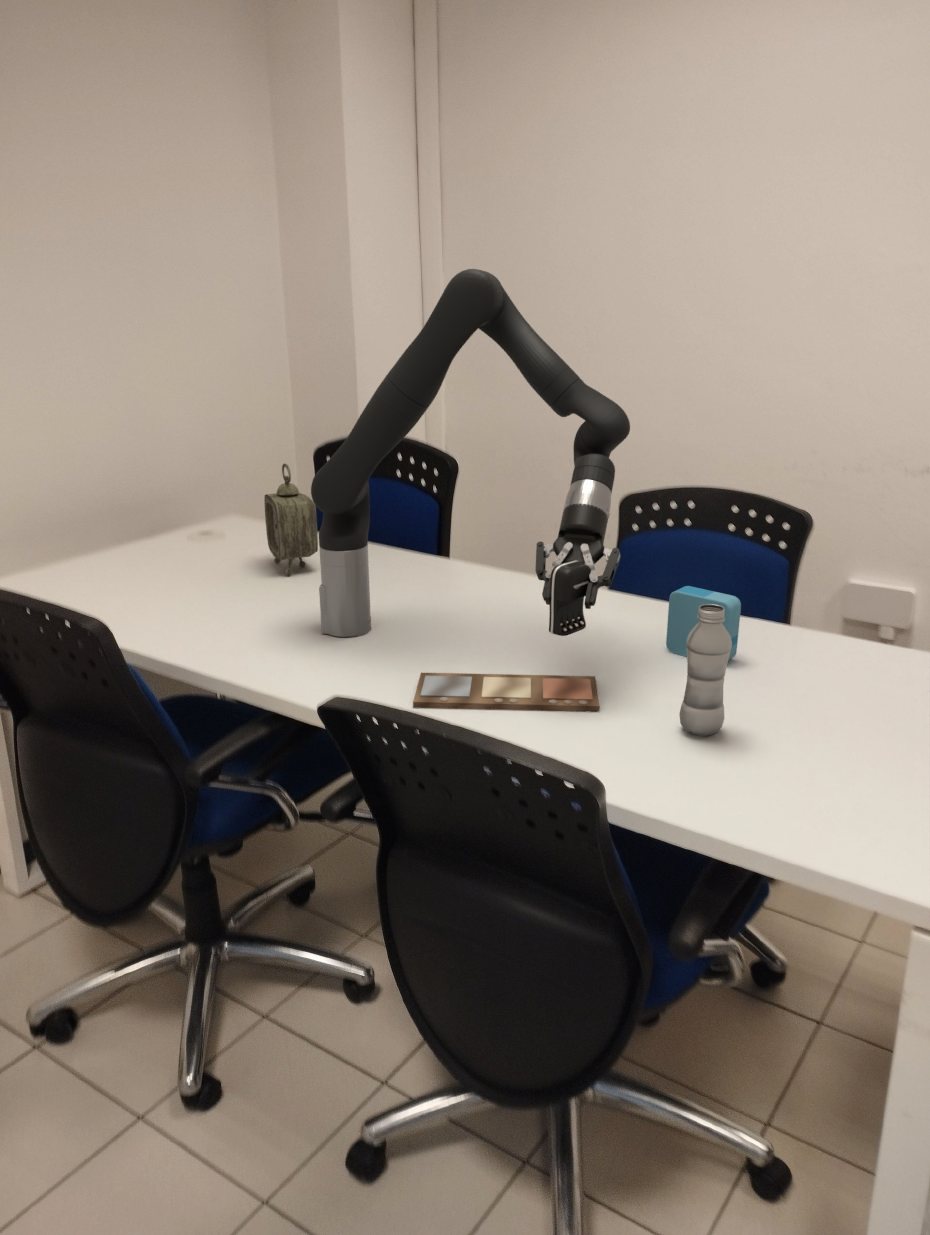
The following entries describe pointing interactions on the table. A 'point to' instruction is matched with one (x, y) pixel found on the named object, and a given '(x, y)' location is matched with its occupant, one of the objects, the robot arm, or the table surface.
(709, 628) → the plastic bottle
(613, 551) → the robot arm
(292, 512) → the tabletop clock
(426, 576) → the table surface
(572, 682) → the tile board
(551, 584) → the battery charger
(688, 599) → the data package
